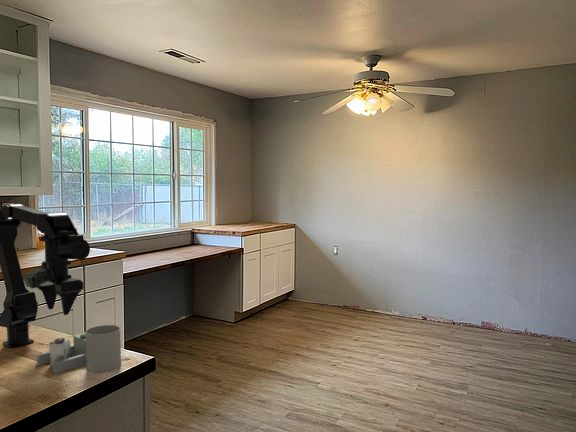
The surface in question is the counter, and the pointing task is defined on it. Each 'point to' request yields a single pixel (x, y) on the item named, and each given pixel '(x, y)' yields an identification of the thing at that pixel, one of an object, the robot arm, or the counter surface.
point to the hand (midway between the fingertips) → (58, 311)
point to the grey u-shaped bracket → (69, 363)
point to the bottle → (59, 350)
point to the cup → (103, 349)
